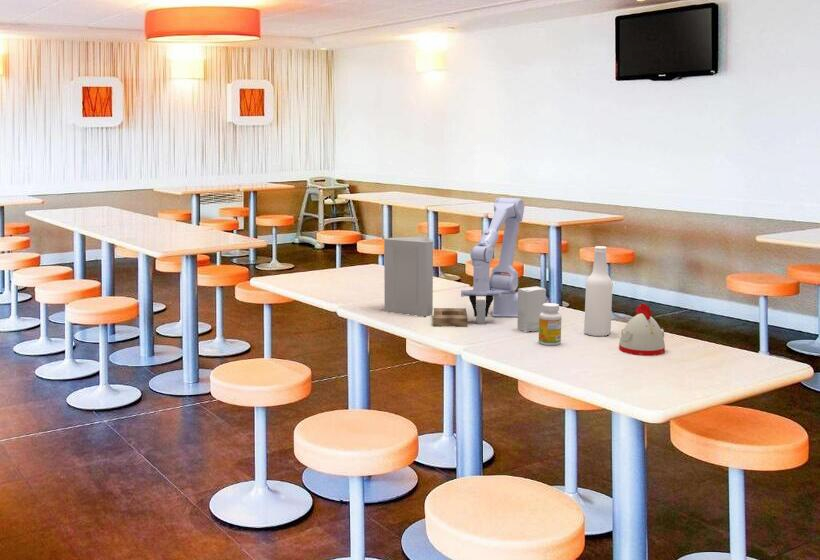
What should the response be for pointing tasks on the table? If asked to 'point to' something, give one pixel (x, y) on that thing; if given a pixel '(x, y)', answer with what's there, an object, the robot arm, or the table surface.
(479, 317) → the brushed metal block
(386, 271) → the tall grey carton
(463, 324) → the well block
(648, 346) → the kitchen timer
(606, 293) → the alcohol
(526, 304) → the skincare box
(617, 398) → the table surface
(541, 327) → the supplement bottle
